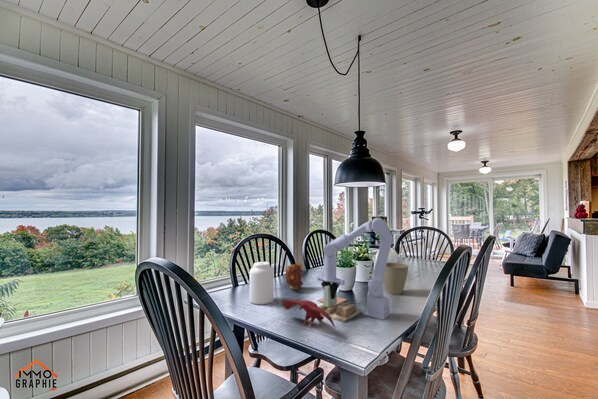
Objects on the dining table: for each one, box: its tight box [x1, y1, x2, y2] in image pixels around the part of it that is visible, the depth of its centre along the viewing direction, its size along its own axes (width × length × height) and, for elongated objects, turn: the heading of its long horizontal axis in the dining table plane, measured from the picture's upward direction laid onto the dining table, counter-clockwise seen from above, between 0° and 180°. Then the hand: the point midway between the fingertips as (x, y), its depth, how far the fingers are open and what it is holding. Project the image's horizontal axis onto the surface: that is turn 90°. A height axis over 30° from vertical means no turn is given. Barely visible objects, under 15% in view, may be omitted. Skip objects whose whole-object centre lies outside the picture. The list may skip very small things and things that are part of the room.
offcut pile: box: [336, 302, 357, 318], centre depth 133 cm, size 5×9×3 cm, turn 139°
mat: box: [316, 296, 348, 305], centre depth 154 cm, size 11×11×1 cm
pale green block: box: [323, 285, 338, 307], centre depth 139 cm, size 2×7×9 cm, turn 139°
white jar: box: [249, 261, 275, 305], centre depth 154 cm, size 12×12×20 cm
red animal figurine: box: [282, 299, 336, 328], centre depth 123 cm, size 28×9×15 cm
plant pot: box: [383, 262, 409, 296], centre depth 168 cm, size 15×15×16 cm
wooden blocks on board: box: [318, 303, 361, 323], centre depth 136 cm, size 16×14×3 cm
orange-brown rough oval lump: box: [285, 263, 304, 290], centre depth 175 cm, size 15×8×15 cm, turn 149°
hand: (330, 297), depth 139 cm, fingers closed on pale green block, 2 cm apart
